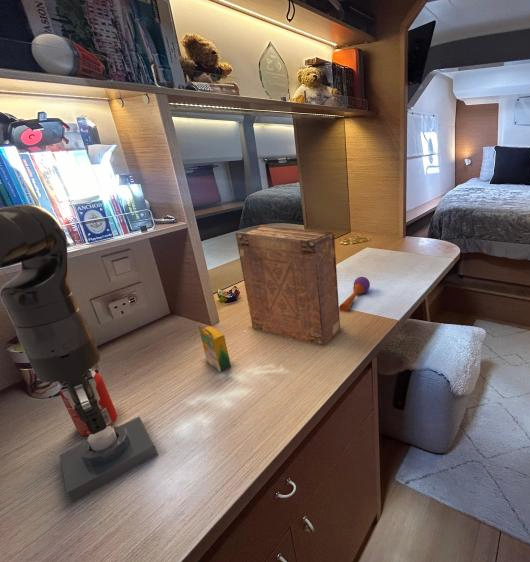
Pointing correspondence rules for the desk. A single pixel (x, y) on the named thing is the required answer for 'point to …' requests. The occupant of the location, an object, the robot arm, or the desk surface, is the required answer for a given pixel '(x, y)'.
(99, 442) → the white button cap
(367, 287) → the purple and orange maraca
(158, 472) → the desk surface
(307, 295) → the brown wooden chest
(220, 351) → the crayon box
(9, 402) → the desk surface
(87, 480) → the button base
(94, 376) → the beverage can
